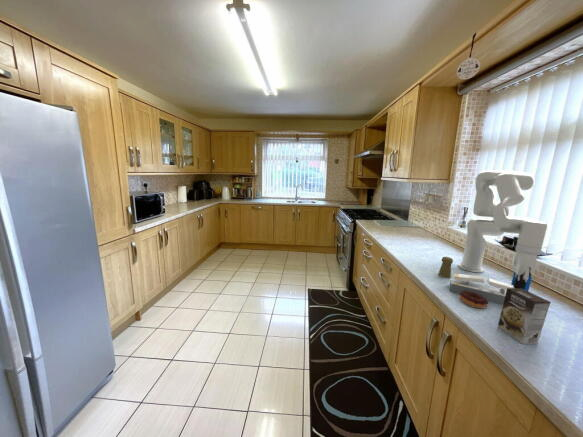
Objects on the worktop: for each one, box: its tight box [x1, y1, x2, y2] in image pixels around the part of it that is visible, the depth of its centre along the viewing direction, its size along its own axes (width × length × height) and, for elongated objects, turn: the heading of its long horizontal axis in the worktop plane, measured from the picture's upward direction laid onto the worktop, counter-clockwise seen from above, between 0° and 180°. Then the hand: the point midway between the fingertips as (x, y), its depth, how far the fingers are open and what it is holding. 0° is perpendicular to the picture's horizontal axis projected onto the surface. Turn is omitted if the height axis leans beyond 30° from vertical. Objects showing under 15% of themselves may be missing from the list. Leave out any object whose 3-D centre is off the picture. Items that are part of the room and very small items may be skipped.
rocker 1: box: [453, 273, 485, 284], centre depth 110 cm, size 4×11×2 cm, turn 57°
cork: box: [438, 256, 454, 279], centre depth 128 cm, size 6×6×11 cm
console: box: [449, 277, 507, 306], centre depth 107 cm, size 8×27×6 cm, turn 57°
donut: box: [459, 291, 489, 309], centre depth 101 cm, size 10×10×4 cm
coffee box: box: [497, 288, 551, 345], centre depth 80 cm, size 9×6×16 cm
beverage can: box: [510, 271, 533, 292], centre depth 114 cm, size 6×6×12 cm
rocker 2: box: [486, 278, 514, 290], centre depth 104 cm, size 4×11×2 cm, turn 57°
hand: (518, 288), depth 101 cm, fingers closed
